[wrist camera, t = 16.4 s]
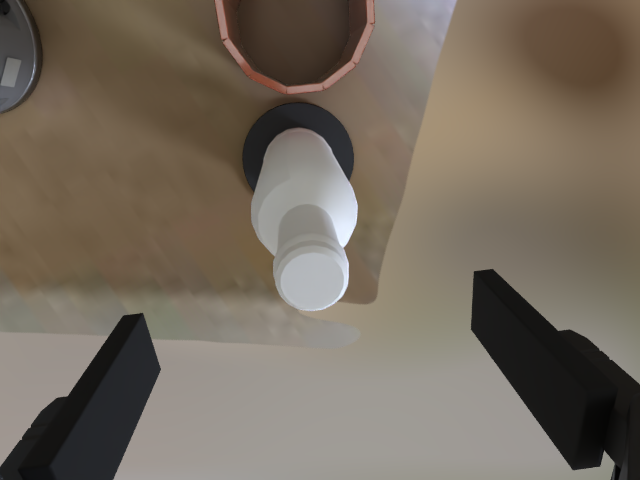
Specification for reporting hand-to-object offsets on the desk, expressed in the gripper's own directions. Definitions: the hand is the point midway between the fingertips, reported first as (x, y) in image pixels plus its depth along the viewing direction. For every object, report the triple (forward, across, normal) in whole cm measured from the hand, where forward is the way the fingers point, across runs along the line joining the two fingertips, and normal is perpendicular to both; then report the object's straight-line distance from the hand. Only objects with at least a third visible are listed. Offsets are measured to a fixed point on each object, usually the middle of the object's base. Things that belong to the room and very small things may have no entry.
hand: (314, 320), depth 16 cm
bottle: (+34, 0, 0) cm, 34 cm away
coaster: (+34, 0, 0) cm, 34 cm away
